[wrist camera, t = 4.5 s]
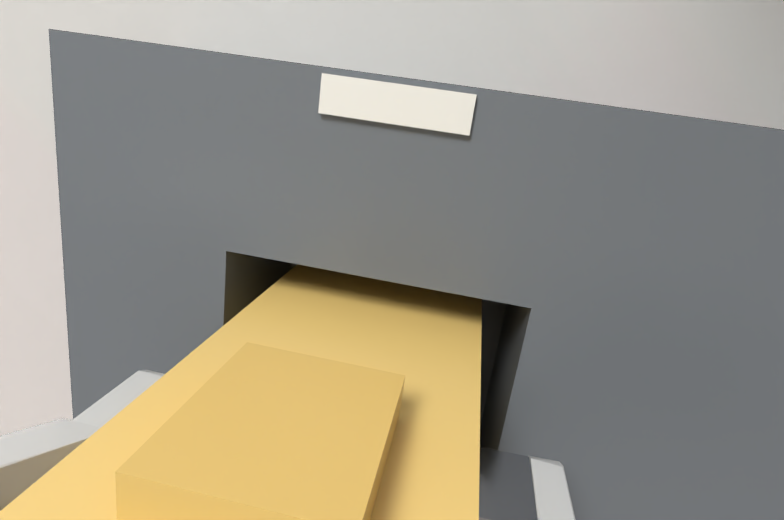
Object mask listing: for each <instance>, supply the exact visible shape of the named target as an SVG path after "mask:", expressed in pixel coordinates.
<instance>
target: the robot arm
mask: <svg viewBox="0 0 784 520" xmlns="http://www.w3.org/2000/svg"><path fill="white" fill-rule="evenodd" d="M163 375H165V374H163V373H159V372H154V371H150V370H140V371H137V372H136V373H134V374H133V375H132V376H130V377H129V378H128V379H126V380H125V381H124V382H122V383H121V384H120V385H118V386H117V387H116V388H114V389H113V390H112V391H110V392H109V393H108V394H106V395H105V396H104V397H102V398H101V399H100V400H98V401H97V402H96V403H94V404H93V405H92V406H90V407H89V408H88V409H86V410H85V411H84V412H82V413H81V414H80V415H78V416H77V417H76V418H74V419H73V420H70V419H65V418H61V419H58V420H54V421H51V422H47V423H44V424H40V425H37V426H33V427H30V428H26V429H23V430H19V431H16V432H12V433H9V434H5V435H2V436H0V511H1V510H2V509H3V508H5V507H6V506H7V505H8V504H9V503H11V502H12V501H13V500H14V499H15V498H17V497H18V496H19V495H20V494H21V493H23V492H24V491H25V490H26V489H27V488H29V487H30V486H31V485H32V484H33V483H35V482H36V481H37V480H38V479H40V478H41V477H42V476H43V475H44V474H46V473H47V472H48V471H49V470H50V469H52V468H53V467H54V466H55V465H56V464H58V463H59V462H60V461H61V460H62V459H64V458H65V457H66V456H67V455H68V454H70V453H71V452H72V451H73V450H74V449H76V448H77V447H78V446H79V445H80V444H82V443H83V442H84V441H85V440H86V439H88V438H89V437H90V436H91V435H92V434H94V433H95V432H96V431H97V430H98V429H100V428H101V427H102V426H103V425H104V424H106V423H107V422H108V421H109V420H111V419H112V418H113V417H114V416H115V415H117V414H118V413H119V412H120V411H121V410H123V409H124V408H125V407H126V406H127V405H129V404H130V403H131V402H132V401H133V400H135V399H136V398H137V397H138V396H139V395H141V394H142V393H143V392H144V391H145V390H147V389H148V388H149V387H150V386H151V385H153V384H154V383H155V382H156V381H157V380H159V379H160V378H161V377H162V376H163ZM479 520H576V519H575V515H574V510H573V506H572V501H571V497H570V493H569V488H568V484H567V479H566V475H565V471H564V466H563V465H562V464H561V463H560V462H559V461H554V460H549V459H543V458H538V457H533V456H524V455H519V454H514V453H510V452H505V451H500V450H495V449H491V448H486V447H481V446H480V470H479Z"/></svg>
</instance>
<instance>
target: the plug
mask: <svg viewBox="0 0 784 520" xmlns="http://www.w3.org/2000/svg"><path fill="white" fill-rule="evenodd" d="M481 331H482V299H479V298H474V297H468V296H463V295H458V294H452V293H447V292H442V291H436V290H431V289H426V288H421V287H415V286H410V285H405V284H399V283H394V282H389V281H383V280H378V279H373V278H367V277H362V276H357V275H351V274H346V273H341V272H336V271H330V270H325V269H320V268H314V267H309V266H304V265H298V264H297V265H296V266H295V267H293V268H292V269H291V270H290V271H289V272H287V273H286V274H285V275H284V276H283V277H281V278H280V279H279V280H278V281H277V282H275V283H274V284H273V285H272V286H271V287H269V288H268V289H267V290H266V291H265V292H263V293H262V294H261V295H260V296H259V297H257V298H256V299H255V300H254V301H253V302H251V303H250V304H249V305H248V306H247V307H245V308H244V309H243V310H242V311H241V312H239V313H238V314H237V315H236V316H234V317H233V318H232V319H231V320H230V321H228V322H227V323H226V324H225V325H224V326H222V327H221V328H220V329H219V330H218V331H216V332H215V333H214V334H213V335H212V336H210V337H209V338H208V339H207V340H206V341H204V342H203V343H202V344H201V345H200V346H198V347H197V348H196V349H195V350H194V351H192V352H191V353H190V354H189V355H188V356H186V357H185V358H184V359H183V360H182V361H180V362H179V363H178V364H177V365H176V366H174V367H173V368H172V369H171V370H169V371H168V372H167V373H166V374H165V375H163V376H162V377H161V378H160V379H159V380H157V381H156V382H155V383H154V384H153V385H151V386H150V387H149V388H148V389H147V390H145V391H144V392H143V393H142V394H141V395H139V396H138V397H137V398H136V399H135V400H133V401H132V402H131V403H130V404H129V405H127V406H126V407H125V408H124V409H123V410H121V411H120V412H119V413H118V414H117V415H115V416H114V417H113V418H112V419H111V420H109V421H108V422H107V423H106V424H104V425H103V426H102V427H101V428H100V429H98V430H97V431H96V432H95V433H94V434H92V435H91V436H90V437H89V438H88V439H86V440H85V441H84V442H83V443H82V444H80V445H79V446H78V447H77V448H76V449H74V450H73V451H72V452H71V453H70V454H68V455H67V456H66V457H65V458H64V459H62V460H61V461H60V462H59V463H58V464H56V465H55V466H54V467H53V468H52V469H50V470H49V471H48V472H47V473H46V474H44V475H43V476H42V477H41V478H40V479H38V480H37V481H36V482H35V483H33V484H32V485H31V486H30V487H29V488H27V489H26V490H25V491H24V492H23V493H21V494H20V495H19V496H18V497H17V498H15V499H14V500H13V501H12V502H11V503H9V504H8V505H7V506H6V507H5V508H3V509H2V510H1V511H0V520H479V470H480V400H481Z"/></svg>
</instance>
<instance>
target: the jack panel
mask: <svg viewBox="0 0 784 520" xmlns="http://www.w3.org/2000/svg"><path fill="white" fill-rule="evenodd" d="M49 41H50V57H51V73H52V89H53V105H54V121H55V137H56V153H57V169H58V185H59V201H60V217H61V232H62V248H63V264H64V280H65V296H66V312H67V328H68V344H69V360H70V376H71V392H72V408H73V419H74V418H76V417H77V416H78V415H80V414H81V413H82V412H84V411H85V410H86V409H88V408H89V407H90V406H92V405H93V404H94V403H96V402H97V401H98V400H100V399H101V398H102V397H104V396H105V395H106V394H108V393H109V392H110V391H112V390H113V389H114V388H116V387H117V386H118V385H120V384H121V383H122V382H124V381H125V380H126V379H128V378H129V377H130V376H132V375H133V374H134V373H136V372H137V371H140V370H150V371H154V372H159V373H163V374H166V373H167V372H168V371H169V370H171V369H172V368H173V367H174V366H176V365H177V364H178V363H179V362H180V361H182V360H183V359H184V358H185V357H186V356H188V355H189V354H190V353H191V352H192V351H194V350H195V349H196V348H197V347H198V346H200V345H201V344H202V343H203V342H204V341H206V340H207V339H208V338H209V337H210V336H212V335H213V334H214V333H215V332H216V331H218V330H219V329H220V328H221V327H222V326H224V325H225V324H226V323H227V322H228V321H230V320H231V319H232V318H233V317H234V316H236V315H237V314H238V313H239V312H241V311H242V310H243V309H244V308H245V307H247V306H248V305H249V304H250V303H251V302H253V301H254V300H255V299H256V298H257V297H259V296H260V295H261V294H262V293H263V292H265V291H266V290H267V289H268V288H269V287H271V286H272V285H273V284H274V283H275V282H277V281H278V280H279V279H280V278H281V277H283V276H284V275H285V274H286V273H287V272H289V271H290V270H291V269H292V268H293V267H295V266H296V265H297V264H298V265H304V266H309V267H314V268H320V269H325V270H330V271H336V272H341V273H346V274H351V275H357V276H362V277H367V278H373V279H378V280H383V281H389V282H394V283H399V284H405V285H410V286H415V287H421V288H426V289H431V290H436V291H442V292H447V293H452V294H458V295H463V296H468V297H474V298H479V299H482V331H481V400H480V446H481V447H486V448H491V449H495V450H500V451H505V452H510V453H514V454H519V455H524V456H533V457H538V458H543V459H549V460H554V461H559V462H560V463H561V464H562V465H563V466H564V471H565V475H566V479H567V484H568V488H569V493H570V497H571V501H572V506H573V510H574V515H575V519H576V520H784V130H781V129H774V128H767V127H759V126H752V125H745V124H738V123H730V122H723V121H716V120H708V119H701V118H694V117H687V116H679V115H672V114H665V113H658V112H650V111H643V110H636V109H628V108H621V107H614V106H607V105H599V104H592V103H585V102H577V101H570V100H563V99H556V98H548V97H541V96H534V95H527V94H519V93H512V92H505V91H497V90H490V89H483V88H476V87H468V86H461V85H454V84H446V83H439V82H432V81H425V80H417V79H410V78H403V77H395V76H388V75H381V74H374V73H366V72H359V71H352V70H345V69H337V68H330V67H323V66H315V65H308V64H301V63H294V62H286V61H279V60H272V59H264V58H257V57H250V56H243V55H235V54H228V53H221V52H213V51H206V50H199V49H192V48H184V47H177V46H170V45H163V44H155V43H148V42H141V41H133V40H126V39H119V38H112V37H104V36H97V35H90V34H82V33H75V32H68V31H61V30H53V29H49Z"/></svg>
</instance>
